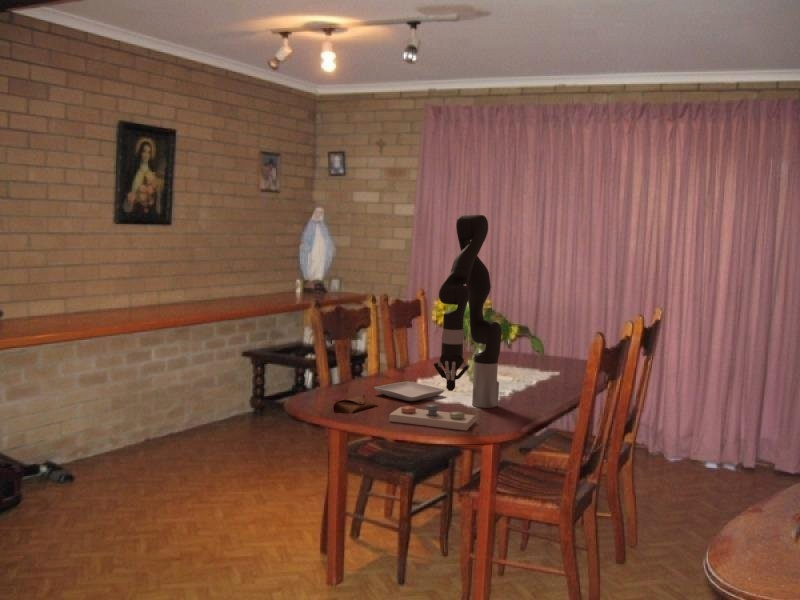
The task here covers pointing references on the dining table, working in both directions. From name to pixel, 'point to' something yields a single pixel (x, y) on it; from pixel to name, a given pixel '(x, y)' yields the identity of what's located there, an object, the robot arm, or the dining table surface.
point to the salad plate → (409, 391)
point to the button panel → (432, 419)
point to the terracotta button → (408, 409)
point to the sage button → (457, 415)
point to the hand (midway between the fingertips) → (450, 390)
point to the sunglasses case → (353, 405)
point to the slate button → (432, 409)
